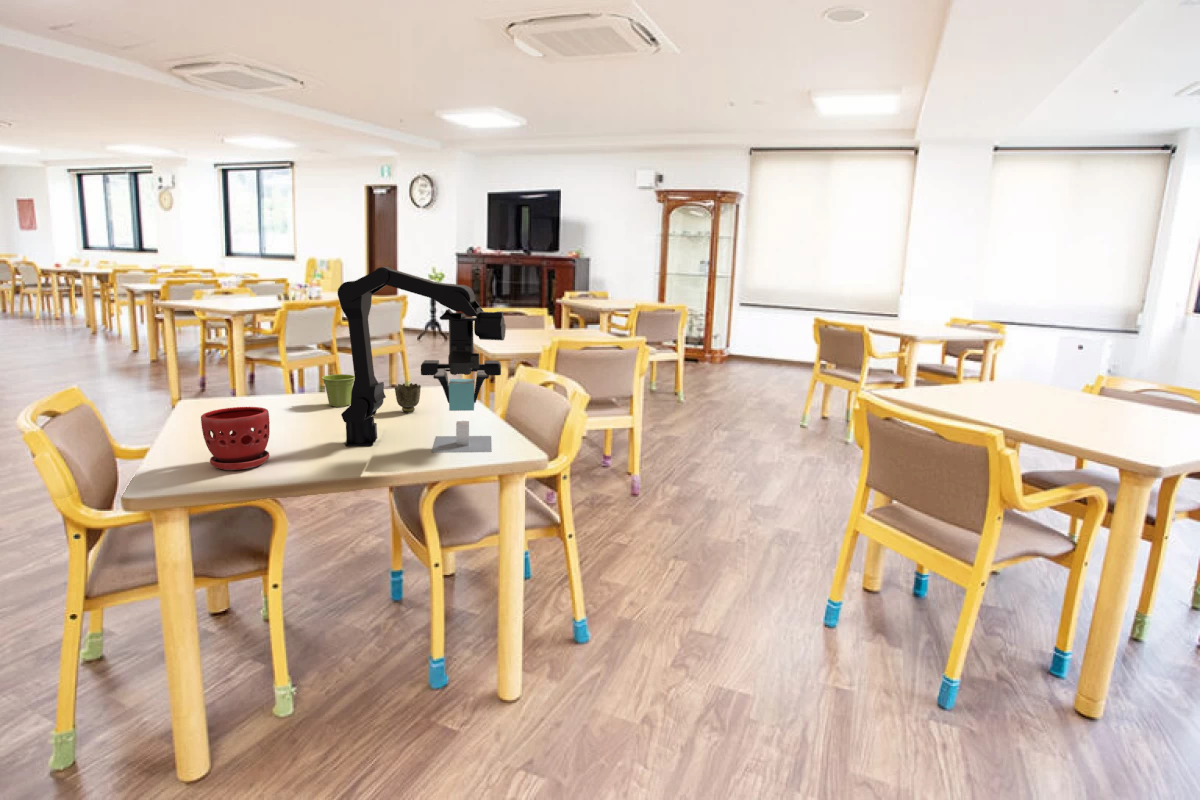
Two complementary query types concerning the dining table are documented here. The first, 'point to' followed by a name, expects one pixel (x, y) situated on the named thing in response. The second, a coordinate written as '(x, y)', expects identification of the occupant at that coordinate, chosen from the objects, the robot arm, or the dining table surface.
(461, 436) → the post
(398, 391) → the scalloped urn planter
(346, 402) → the plant pot
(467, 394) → the teal block
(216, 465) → the plant pot
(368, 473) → the dining table surface
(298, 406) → the dining table surface
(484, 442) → the base board
